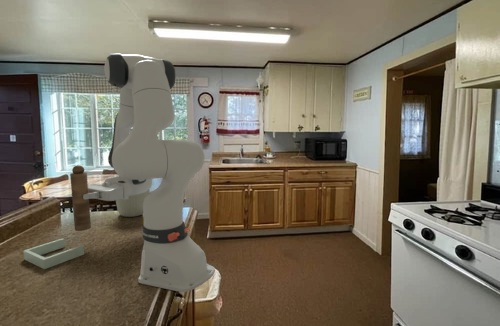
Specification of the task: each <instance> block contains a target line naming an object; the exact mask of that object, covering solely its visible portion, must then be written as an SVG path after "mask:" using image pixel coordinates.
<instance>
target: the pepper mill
mask: <svg viewBox="0 0 500 326" xmlns="http://www.w3.org/2000/svg"><path fill="white" fill-rule="evenodd" d="M69 176H70V177H69V178H70V186H71V187H70V188H71V200H72V214H73V225H74V231H77V232H83V231H87V230H89V229H91V228H92V226H91V225H92V224H91V221H92V220H91V211H90V199H86V200H85V199H82V194H86V193H88V184H89V183H88V172H86V171H85V168H84V167H83V166H82V165H81V164H80V165H79V164H77V165H75V166H73V168H72V173H70V175H69Z"/></svg>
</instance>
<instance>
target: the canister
mask: <svg viewBox="0 0 500 326" xmlns="http://www.w3.org/2000/svg"><path fill="white" fill-rule="evenodd" d="M150 190H151V188H150V189H149V190H147V191H146V192H144V193H141V194H138V195H134V196H129V197H128V199H126V200H115V204H116V209H117V212H118V214H119V215H120V216H121V217H127V218H131V217H132V218H133V217H138V216H139V217H140V216H143V202H144V199H145V198H146V196H147V195H148V194H149V193H150Z"/></svg>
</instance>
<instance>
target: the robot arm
mask: <svg viewBox="0 0 500 326" xmlns="http://www.w3.org/2000/svg"><path fill="white" fill-rule="evenodd" d="M103 68H104V69H103V70H104V75H105V77H106V79H107V83H109V84H110V85H111V86H112V87H115V88H120V92H119V109H118V112H117V114H116V116H115V118H114V123H113V124H114V125H113V130H112V131H113V133H112V142H111V147H110V151H109V153H108V157H107V160H108V161H107V162H108V164H109V166H110V167H111V168H112V169H113V170H114V172H115V173H116V175H118V176H114V177H109V178H108V177H107V178H106V179H105V180H104V181H103V183H88V193H86V194H82V199H85V200H86V199H89V200H91V199H92V200H94V199H96V200H101V201H106V202H112V201H113V202H115V201H116V200H126V199H128V197H129V196H134V195H138V194H141V193H144V192H146V191H147V190H149V189H150V190H151V188H152V185H153V180H154V179H161V182H160V184H159V185H158V187H157V188H155V189H153V190H152V191H150V190H149V194H148V195H147V196H146V198H145V199H144V202H143V213H144V225H143V224H142V231H141V234H142V239H143V246H142V250H141V260H140V262H141V263H140V271H139V274H140V275H139V276H138V279H137V280H138V283H139V284H142V285H146V286H151V287H157V288H161V289H164V290H165V289H166V290H171V291H175V292H179V293H185V292H190V291H192V290H195V289H196V288H198V287H200V286H203V285H204V284H205V283H207V281H209V280H210V279H211V278H212V277H214V275H215V273H216V269H215V267H214V266H213V265H210V264H209V263H207V257H206V252H205V251H204V250H203V249H202V248H201V246H200V245H199V244H197V243H196V242H195V241H194V240H193V239H192V238H191V237H190V236H189V232H190V231H191V230H190V229H191V227H190V226H189V227H187V226H186V224H185V222H184V219H183V218H184V216H183V215H184V212H183V210H184V196H185V193H186V190H187V187H188V185H189V184H190V181H191V180H192V179H193V177H194V176H195V175H197V173H199V172H200V171H201V170H202V168H203V166H204V164H205V153H204V150H203V148H202V146H201V145H200V143H198V142H197V141H193V140H188V139H187V140H186V139H159V138H158V136H159V135H158V133H160V132H162V131H164V130H166V129H167V128H169V127H170V126H171V125H172V124H173V123H174V120H175V111H174V105H173V98H172V94H171V93H172V91H171V89H172V88H174V86H175V83H176V79H177V76H176V75H177V74H176V67H175V66H174V65H173V63H172V62H171V61H169V60H167V59H163V58H161V59H159V58H156V57H153V56H152V57H151V56H145V55H142V54H130V53H129V54H122V53H110V54H109V55H108V56H107V57H106V59H105V63H104V67H103Z"/></svg>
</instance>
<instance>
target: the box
mask: <svg viewBox="0 0 500 326" xmlns="http://www.w3.org/2000/svg"><path fill="white" fill-rule="evenodd" d="M65 242H66V241H65V238H59V239H56V240H54V241H50V242H46V243H43V244H41V245H37V246H33V247H31V248H27V249H24V250H23V251H22V253H23V259H24V260H25V261H27V262H29V263H30V264H33V265H35V266H37V267H38V268H41V269H42V270H46V269H49V268H52V267H54V266H58V265H60V264H63V263H65V262H67V261H69V260H73V259H76V258H78V257H81V256H83V255H85V246H84V245H82V244H81V245H78V246H75V247H72V248H70V249H67V250H64V251H61V252H59V253H55V254H53V255H49V256H46V257H45V256H43V255H45V254H48V253H52V252H54V251H56V250H59V249H64V248H66V243H65Z"/></svg>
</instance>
